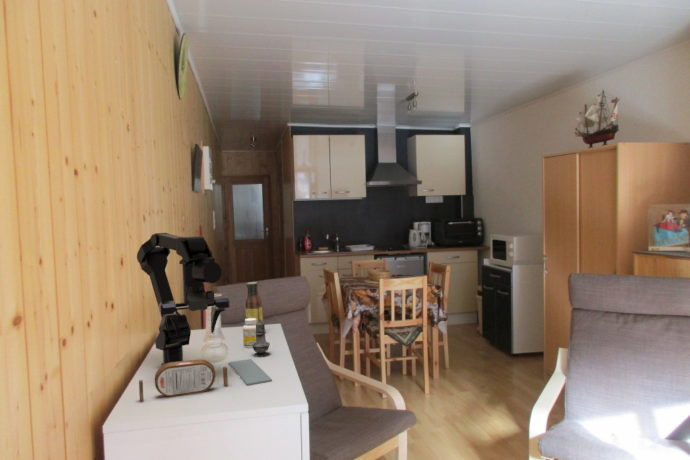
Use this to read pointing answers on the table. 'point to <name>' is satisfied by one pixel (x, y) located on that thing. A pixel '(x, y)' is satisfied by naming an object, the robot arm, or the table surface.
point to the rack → (225, 379)
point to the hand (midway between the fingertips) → (195, 334)
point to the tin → (184, 377)
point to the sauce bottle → (253, 302)
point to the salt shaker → (260, 341)
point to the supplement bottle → (249, 332)
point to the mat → (250, 372)
